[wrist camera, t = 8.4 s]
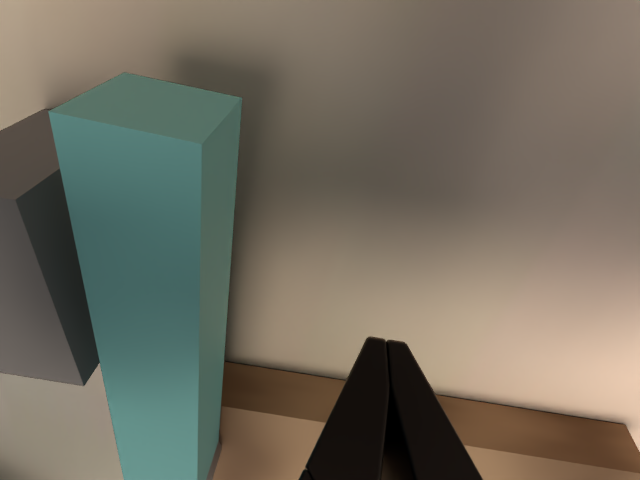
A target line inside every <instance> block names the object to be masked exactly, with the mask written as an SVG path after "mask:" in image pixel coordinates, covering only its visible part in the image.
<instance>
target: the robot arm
mask: <svg viewBox="0 0 640 480" xmlns="http://www.w3.org/2000/svg"><path fill="white" fill-rule="evenodd" d="M298 480H483V478H482V476H481V475H480V473H479V471H478V469H477V468H476V466H475V464H474V462H473V460H472V459H471V457H470V455H469V453H468V452H467V450H466V448H465V446H464V445H463V443H462V441H461V439H460V437H459V436H458V434H457V432H456V430H455V429H454V427H453V425H452V423H451V422H450V420H449V418H448V416H447V414H446V413H445V411H444V409H443V407H442V406H441V404H440V402H439V400H438V399H437V397H436V395H435V393H434V391H433V390H432V388H431V386H430V384H429V383H428V381H427V379H426V377H425V375H424V374H423V372H422V370H421V368H420V367H419V365H418V363H417V361H416V360H415V358H414V356H413V354H412V352H411V351H410V349H409V347H408V345H407V344H406V343H405V342H401V341H395V340H387V341H385V339H382V338H376V337H368V338H367V339H366V340H365V342H364V345H363V347H362V349H361V351H360V353H359V355H358V357H357V359H356V361H355V363H354V365H353V367H352V370H351V372H350V374H349V376H348V378H347V380H346V382H345V384H344V386H343V388H342V390H341V392H340V395H339V397H338V399H337V401H336V403H335V405H334V407H333V409H332V411H331V413H330V415H329V417H328V420H327V422H326V424H325V426H324V428H323V430H322V432H321V434H320V436H319V438H318V440H317V442H316V445H315V447H314V449H313V451H312V453H311V455H310V457H309V459H308V461H307V463H306V465H305V469H304V470H303V471H302V473H301V475H300V477H299V479H298Z"/></svg>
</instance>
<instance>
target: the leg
mask: <svg viewBox="0 0 640 480" xmlns="http://www.w3.org/2000/svg"><path fill="white" fill-rule="evenodd" d="M241 108H242V98H241V97H236V96H232V95H227V94H222V93H218V92H213V91H208V90H204V89H199V88H194V87H190V86H185V85H180V84H176V83H171V82H167V81H162V80H157V79H153V78H148V77H143V76H139V75H134V74H129V73H125V72H124V73H122V74H120V75H118V76H116V77H114V78H112V79H110V80H109V81H107V82H105V83H103V84H101V85H99V86H97V87H95V88H93V89H91V90H89V91H87V92H85V93H83V94H81V95H79V96H77V97H75V98H73V99H71V100H69V101H67V102H66V103H64V104H62V105H60V106H58V107H56V108H54V109H52V110H50V111H48V112H49V117H50V122H51V127H52V132H53V137H54V142H55V147H56V151H57V156H58V161H59V166H60V171H61V176H62V181H63V186H64V190H65V195H66V200H67V205H68V210H69V215H70V220H71V225H72V229H73V234H74V239H75V244H76V249H77V254H78V259H79V263H80V268H81V273H82V278H83V283H84V288H85V293H86V298H87V302H88V307H89V312H90V317H91V322H92V327H93V332H94V337H95V341H96V346H97V351H98V356H99V361H100V366H101V371H102V376H103V380H104V385H105V390H106V395H107V400H108V405H109V410H110V415H111V419H112V424H113V429H114V434H115V439H116V444H117V449H118V454H119V458H120V463H121V468H122V473H123V478H124V480H213V476H214V473H215V470H216V467H217V463H218V460H219V457H220V454H221V450H222V449H221V444H220V442H219V426H220V412H221V397H222V383H223V368H224V354H225V339H226V325H227V311H228V296H229V282H230V267H231V253H232V238H233V224H234V209H235V195H236V180H237V166H238V152H239V137H240V123H241Z"/></svg>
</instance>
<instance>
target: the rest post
mask: <svg viewBox="0 0 640 480" xmlns="http://www.w3.org/2000/svg"><path fill="white" fill-rule="evenodd" d="M48 111H50V110H46V109H43V110H41V111H39V112H37V113H35V114H33V115H31V116H29V117H27V118H25V119H23V120H21V121H19V122H17V123H15V124H13V125H11V126H9V127H7V128H5V129H3V130H1V131H0V373H5V374H12V375H18V376H24V377H30V378H36V379H43V380H49V381H55V382H61V383H67V384H74V385H80V386H84V385H85V384H86V382H87V381H88V379H89V378H90V376H91V375H92V373H93V372H94V370H95V369H96V367H97V366H98V364H99V363H100V361H99V356H98V351H97V346H96V341H95V337H94V332H93V327H92V322H91V317H90V312H89V307H88V302H87V298H86V293H85V288H84V283H83V278H82V273H81V268H80V263H79V259H78V254H77V249H76V244H75V239H74V234H73V229H72V225H71V220H70V215H69V210H68V205H67V200H66V195H65V190H64V186H63V181H62V176H61V171H60V166H59V161H58V156H57V151H56V147H55V142H54V137H53V132H52V127H51V122H50V117H49V112H48Z"/></svg>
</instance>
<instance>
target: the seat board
mask: <svg viewBox="0 0 640 480" xmlns="http://www.w3.org/2000/svg"><path fill="white" fill-rule="evenodd" d="M345 382H346V381H344V380H338V379H332V378H325V377H319V376H313V375H306V374H300V373H294V372H287V371H281V370H275V369H268V368H262V367H256V366H249V365H243V364H237V363H230V362H224V368H223V383H222V397H221V412H220V426H219V442H220V444H221V449H222V450H221V454H220V457H219V460H218V463H217V467H216V470H215V473H214V476H213V480H298V479H299V477H300V475H301V473H302V471H303V470H304V469H305V465H306V463H307V461H308V459H309V457H310V455H311V453H312V451H313V449H314V447H315V445H316V442H317V440H318V438H319V436H320V434H321V432H322V430H323V428H324V426H325V424H326V422H327V420H328V417H329V415H330V413H331V411H332V409H333V407H334V405H335V403H336V401H337V399H338V397H339V395H340V392H341V390H342V388H343V386H344V384H345ZM436 397H437V399H438V400H439V402H440V404H441V406H442V407H443V409H444V411H445V413H446V414H447V416H448V418H449V420H450V422H451V423H452V425H453V427H454V429H455V430H456V432H457V434H458V436H459V437H460V439H461V441H462V443H463V445H464V446H465V448H466V450H467V452H468V453H469V455H470V457H471V459H472V460H473V462H474V464H475V466H476V468H477V469H478V471H479V473H480V475H481V476H482V478H483V480H640V452H639V450H638V448H637V446H636V444H635V442H634V441H633V439H632V437H631V435H630V433H629V431H628V429H627V427H626V425H623V424H617V423H610V422H604V421H598V420H591V419H585V418H579V417H572V416H566V415H560V414H553V413H547V412H541V411H534V410H528V409H522V408H515V407H509V406H503V405H496V404H490V403H484V402H477V401H471V400H465V399H458V398H452V397H446V396H439V395H436Z"/></svg>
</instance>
